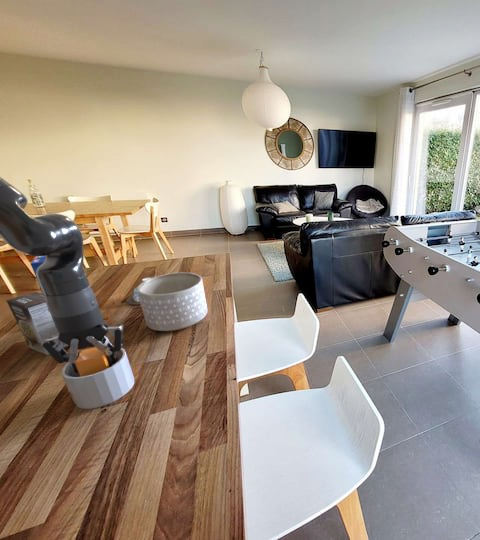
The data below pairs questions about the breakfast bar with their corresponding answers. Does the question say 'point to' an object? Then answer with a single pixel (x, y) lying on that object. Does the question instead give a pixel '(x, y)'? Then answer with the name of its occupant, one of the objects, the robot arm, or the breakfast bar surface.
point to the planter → (172, 301)
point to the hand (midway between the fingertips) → (98, 368)
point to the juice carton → (91, 362)
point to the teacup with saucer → (135, 296)
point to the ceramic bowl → (100, 383)
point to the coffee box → (34, 320)
